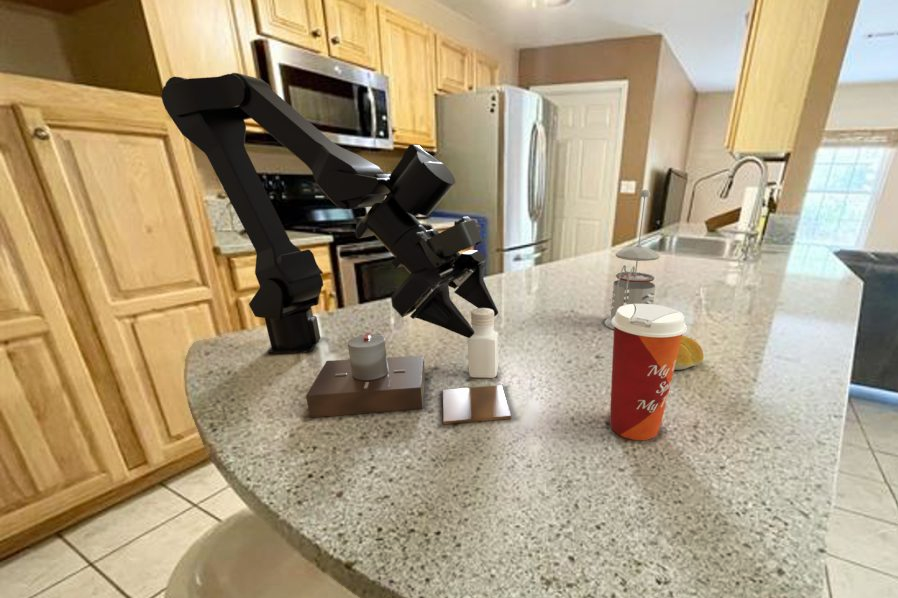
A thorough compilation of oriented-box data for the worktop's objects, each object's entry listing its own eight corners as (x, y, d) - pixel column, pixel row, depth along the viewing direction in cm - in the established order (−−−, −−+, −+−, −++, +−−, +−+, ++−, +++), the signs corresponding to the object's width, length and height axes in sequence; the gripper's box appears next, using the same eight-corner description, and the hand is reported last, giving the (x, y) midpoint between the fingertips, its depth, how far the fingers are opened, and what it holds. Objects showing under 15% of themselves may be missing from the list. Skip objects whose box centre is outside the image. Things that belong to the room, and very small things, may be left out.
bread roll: (711, 363, 66) (716, 339, 65) (674, 375, 62) (678, 351, 60) (669, 346, 73) (672, 324, 71) (632, 356, 68) (635, 333, 67)
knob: (386, 379, 53) (382, 343, 51) (349, 381, 52) (343, 345, 50) (390, 364, 57) (386, 331, 55) (355, 366, 56) (350, 333, 54)
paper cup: (657, 454, 44) (678, 329, 39) (590, 431, 48) (601, 314, 43) (676, 421, 50) (696, 309, 45) (615, 403, 54) (627, 298, 49)
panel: (310, 417, 50) (305, 394, 49) (330, 380, 59) (326, 359, 58) (422, 408, 52) (420, 386, 51) (425, 374, 61) (423, 354, 60)
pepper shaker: (496, 379, 60) (495, 315, 56) (468, 378, 60) (466, 315, 56) (498, 367, 64) (498, 307, 60) (472, 367, 64) (470, 306, 60)
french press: (661, 322, 85) (680, 190, 75) (643, 339, 76) (662, 191, 66) (615, 313, 89) (628, 188, 80) (592, 329, 80) (604, 189, 71)
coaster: (443, 424, 49) (443, 421, 49) (442, 392, 56) (442, 389, 56) (511, 418, 50) (511, 415, 50) (502, 387, 58) (502, 385, 57)
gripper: (403, 200, 45) (501, 307, 47) (471, 194, 62) (541, 273, 63) (352, 268, 50) (441, 363, 52) (427, 245, 67) (493, 318, 68)
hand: (485, 324), depth 59 cm, fingers open, 9 cm apart
